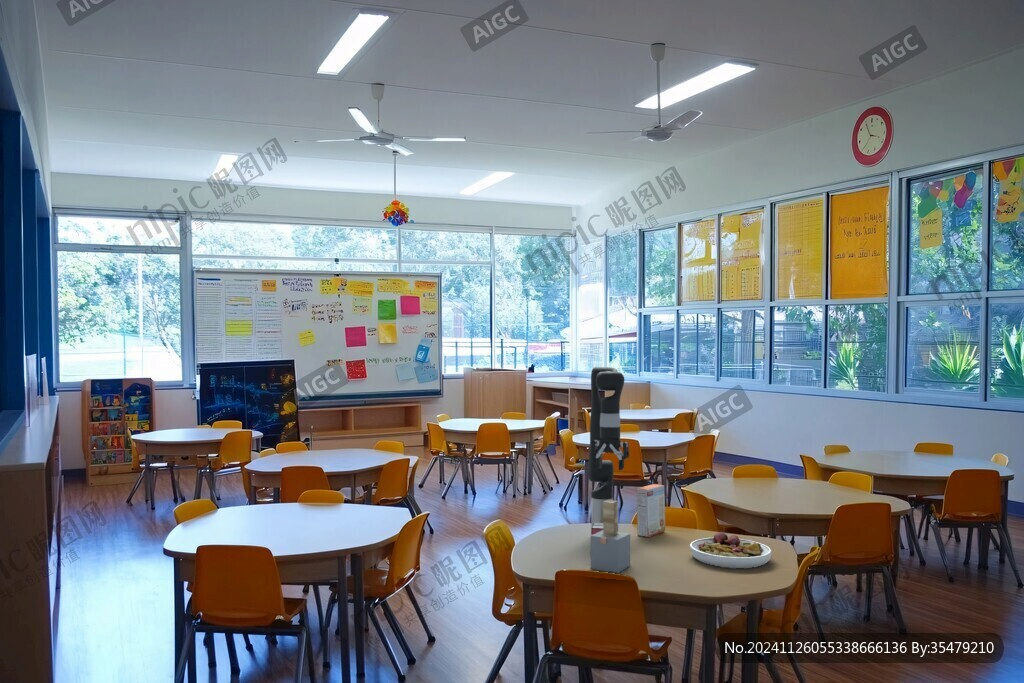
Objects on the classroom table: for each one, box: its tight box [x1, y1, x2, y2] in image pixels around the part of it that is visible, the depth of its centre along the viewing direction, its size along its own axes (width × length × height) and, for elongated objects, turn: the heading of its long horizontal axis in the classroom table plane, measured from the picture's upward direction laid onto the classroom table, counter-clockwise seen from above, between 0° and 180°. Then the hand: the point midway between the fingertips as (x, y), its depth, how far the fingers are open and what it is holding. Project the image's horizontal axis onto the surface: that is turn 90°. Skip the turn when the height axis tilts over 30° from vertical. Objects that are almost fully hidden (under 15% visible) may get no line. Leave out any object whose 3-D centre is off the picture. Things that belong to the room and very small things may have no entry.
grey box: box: [590, 530, 631, 574], centre depth 278 cm, size 12×11×12 cm
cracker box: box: [636, 483, 666, 538], centre depth 329 cm, size 14×6×21 cm, turn 136°
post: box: [603, 500, 619, 537], centre depth 278 cm, size 4×4×24 cm
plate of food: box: [689, 531, 772, 569], centre depth 289 cm, size 30×30×8 cm
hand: (610, 469), depth 278 cm, fingers open, 8 cm apart
